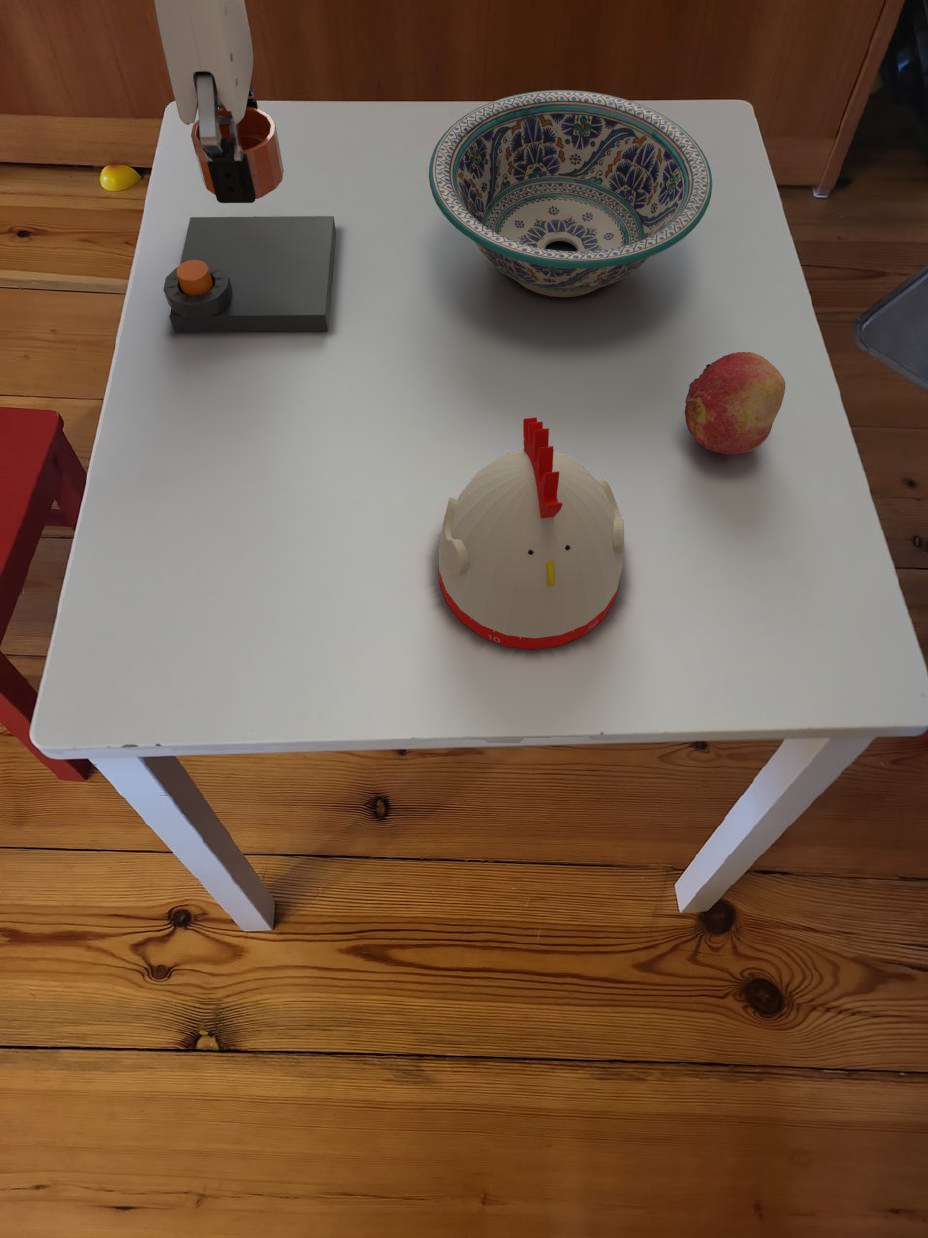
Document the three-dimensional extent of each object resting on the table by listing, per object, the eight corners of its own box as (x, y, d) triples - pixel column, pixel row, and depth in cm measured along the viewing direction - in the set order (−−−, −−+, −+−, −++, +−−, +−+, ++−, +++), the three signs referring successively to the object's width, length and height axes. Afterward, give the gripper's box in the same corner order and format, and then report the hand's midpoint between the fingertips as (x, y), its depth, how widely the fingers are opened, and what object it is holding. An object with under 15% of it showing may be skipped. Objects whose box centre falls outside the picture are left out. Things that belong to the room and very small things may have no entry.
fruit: (730, 490, 74) (758, 422, 67) (656, 440, 77) (675, 370, 70) (785, 438, 77) (817, 368, 70) (711, 391, 80) (735, 319, 73)
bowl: (692, 193, 94) (714, 101, 85) (685, 366, 81) (711, 277, 73) (453, 170, 96) (452, 77, 87) (410, 335, 83) (405, 245, 75)
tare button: (179, 296, 81) (174, 280, 80) (183, 275, 82) (178, 259, 81) (210, 296, 81) (206, 280, 80) (214, 275, 82) (210, 259, 81)
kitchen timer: (452, 660, 66) (450, 540, 53) (427, 510, 73) (420, 371, 60) (638, 635, 67) (680, 512, 54) (596, 490, 74) (625, 349, 61)
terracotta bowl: (200, 206, 77) (186, 154, 73) (210, 157, 80) (197, 105, 76) (280, 205, 77) (271, 154, 73) (287, 156, 80) (278, 105, 76)
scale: (170, 335, 83) (159, 304, 80) (191, 233, 90) (182, 201, 87) (327, 334, 83) (322, 303, 80) (336, 232, 90) (331, 200, 87)
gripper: (152, -125, 67) (210, 113, 82) (110, -2, 58) (184, 239, 73) (254, -126, 67) (293, 113, 82) (228, -3, 58) (277, 238, 73)
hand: (241, 170), depth 78 cm, fingers closed on terracotta bowl, 6 cm apart
